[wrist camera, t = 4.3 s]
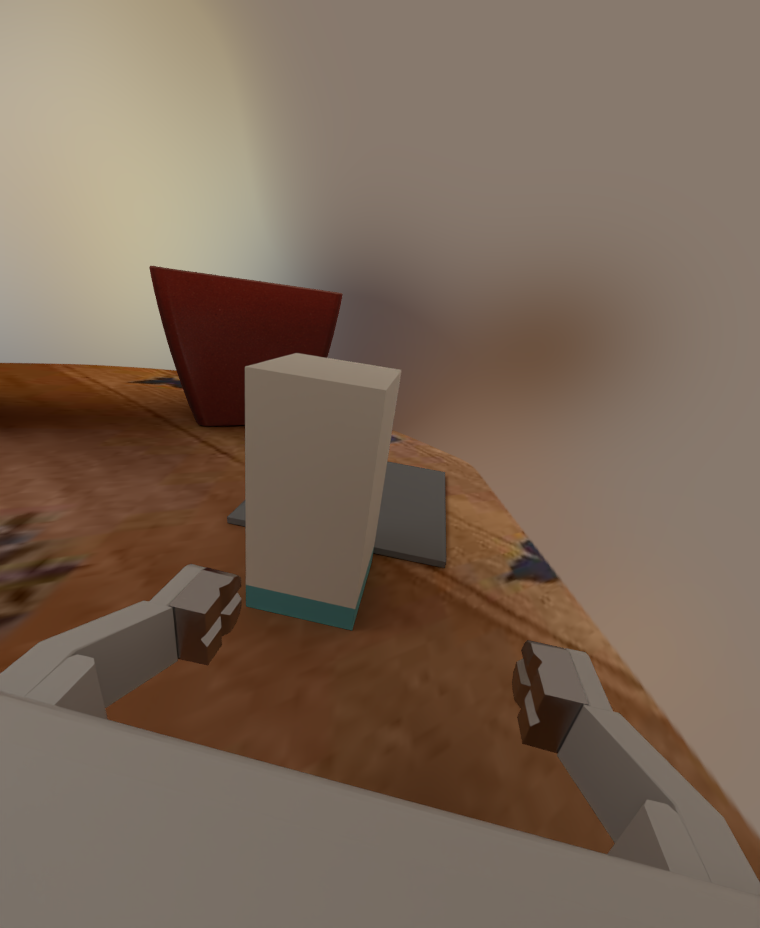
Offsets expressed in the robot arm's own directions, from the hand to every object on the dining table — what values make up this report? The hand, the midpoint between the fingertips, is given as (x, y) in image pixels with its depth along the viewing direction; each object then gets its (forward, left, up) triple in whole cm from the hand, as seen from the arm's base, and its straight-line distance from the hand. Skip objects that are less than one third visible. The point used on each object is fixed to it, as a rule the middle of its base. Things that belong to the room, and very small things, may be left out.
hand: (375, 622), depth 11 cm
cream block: (-10, +4, -8) cm, 13 cm away
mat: (-19, +12, -8) cm, 24 cm away
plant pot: (-45, +11, -8) cm, 47 cm away
